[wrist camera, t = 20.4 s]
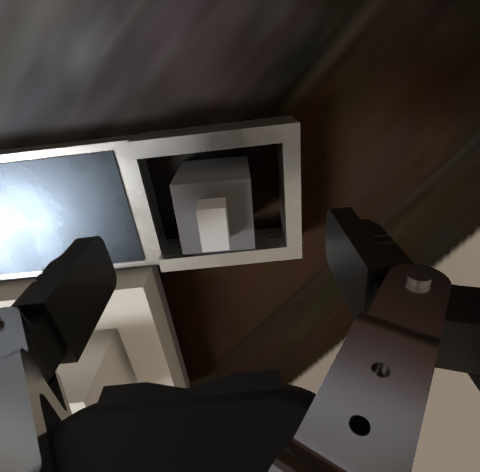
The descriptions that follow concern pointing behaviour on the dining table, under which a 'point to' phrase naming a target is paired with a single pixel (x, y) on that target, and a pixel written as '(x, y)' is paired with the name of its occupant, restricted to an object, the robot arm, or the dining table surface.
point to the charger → (96, 369)
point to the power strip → (133, 323)
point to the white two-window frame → (131, 198)
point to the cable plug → (213, 205)
